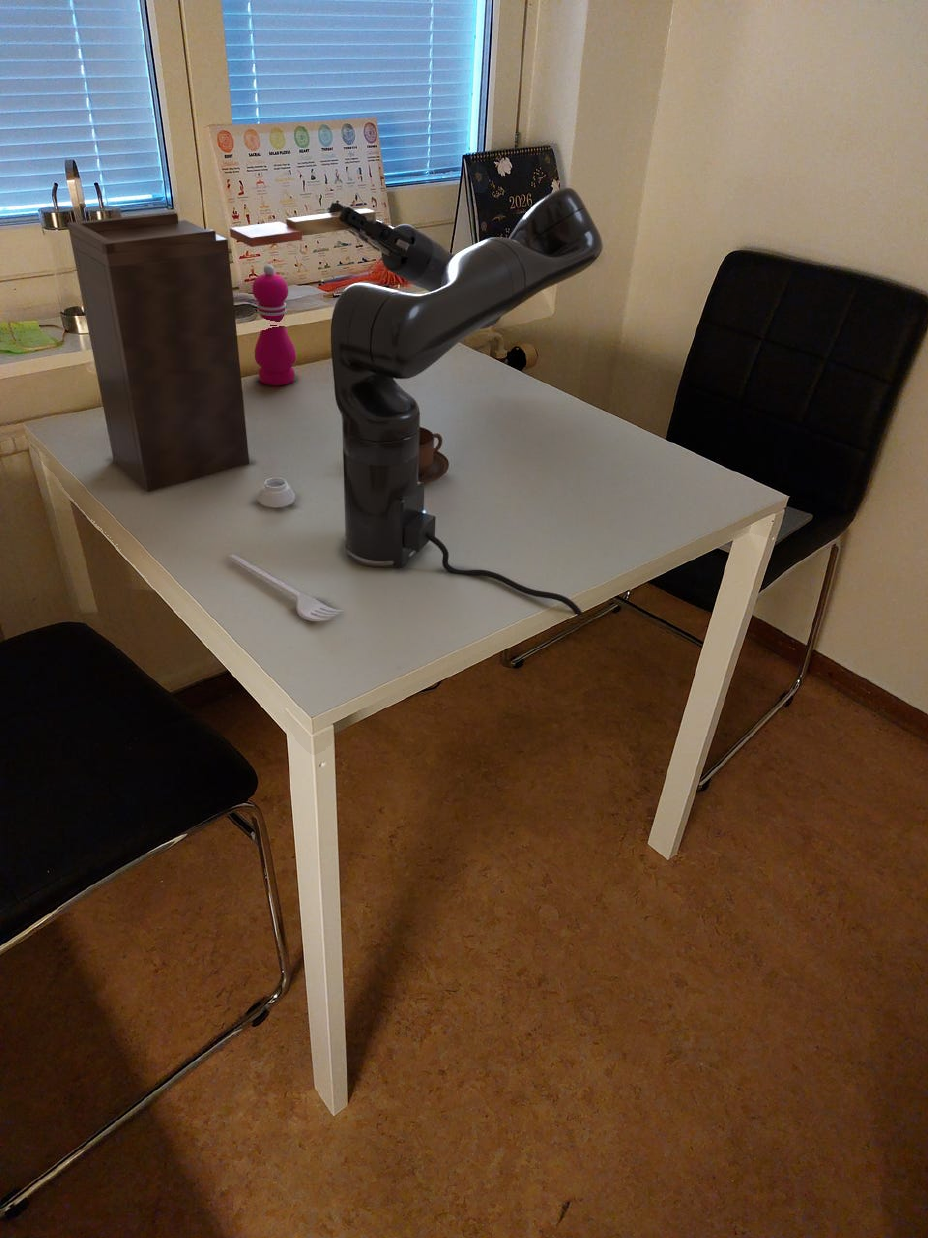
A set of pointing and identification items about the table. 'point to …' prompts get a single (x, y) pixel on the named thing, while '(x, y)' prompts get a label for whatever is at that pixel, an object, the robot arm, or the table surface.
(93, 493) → the table surface
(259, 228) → the spatula
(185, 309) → the tall wooden box
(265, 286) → the pepper mill
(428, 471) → the cup and saucer
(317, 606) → the fork
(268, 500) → the white jar
